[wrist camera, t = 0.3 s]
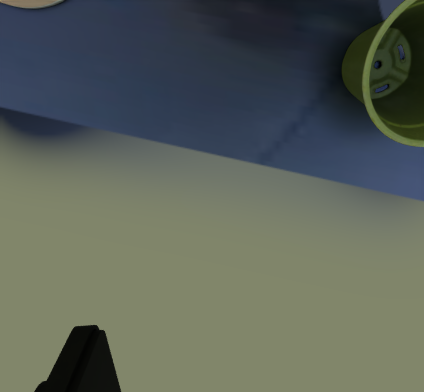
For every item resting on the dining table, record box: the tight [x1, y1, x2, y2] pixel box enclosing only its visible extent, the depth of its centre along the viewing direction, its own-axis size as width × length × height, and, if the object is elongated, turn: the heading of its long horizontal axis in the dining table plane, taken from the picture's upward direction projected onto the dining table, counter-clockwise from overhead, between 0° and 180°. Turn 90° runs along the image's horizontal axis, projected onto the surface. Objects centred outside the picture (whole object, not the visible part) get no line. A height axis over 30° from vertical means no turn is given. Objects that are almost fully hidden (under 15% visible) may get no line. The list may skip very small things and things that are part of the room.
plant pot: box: [342, 0, 424, 147], centre depth 30 cm, size 12×12×11 cm
